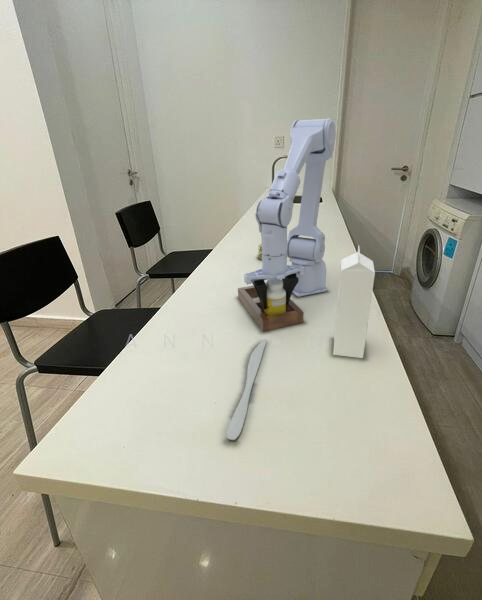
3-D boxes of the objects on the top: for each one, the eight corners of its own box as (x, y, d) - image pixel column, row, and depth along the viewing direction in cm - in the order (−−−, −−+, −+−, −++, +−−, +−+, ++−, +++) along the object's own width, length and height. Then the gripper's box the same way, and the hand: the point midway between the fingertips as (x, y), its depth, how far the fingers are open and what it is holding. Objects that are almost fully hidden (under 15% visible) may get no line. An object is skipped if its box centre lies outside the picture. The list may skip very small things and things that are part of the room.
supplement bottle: (263, 312, 85) (262, 277, 81) (283, 311, 86) (284, 276, 81) (265, 323, 81) (265, 286, 76) (287, 321, 81) (288, 285, 77)
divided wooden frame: (272, 291, 97) (272, 281, 95) (303, 322, 80) (303, 311, 79) (238, 297, 94) (237, 288, 92) (263, 331, 77) (262, 320, 76)
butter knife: (219, 436, 50) (238, 438, 50) (256, 339, 74) (269, 340, 73) (219, 439, 50) (238, 441, 50) (256, 342, 74) (269, 342, 73)
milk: (333, 355, 68) (341, 254, 58) (334, 339, 74) (341, 243, 64) (363, 358, 67) (377, 255, 57) (362, 342, 72) (375, 244, 62)
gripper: (250, 262, 70) (252, 318, 76) (310, 253, 74) (308, 306, 80) (240, 253, 76) (243, 305, 82) (296, 244, 80) (295, 294, 86)
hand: (274, 305), depth 82 cm, fingers closed on supplement bottle, 5 cm apart
